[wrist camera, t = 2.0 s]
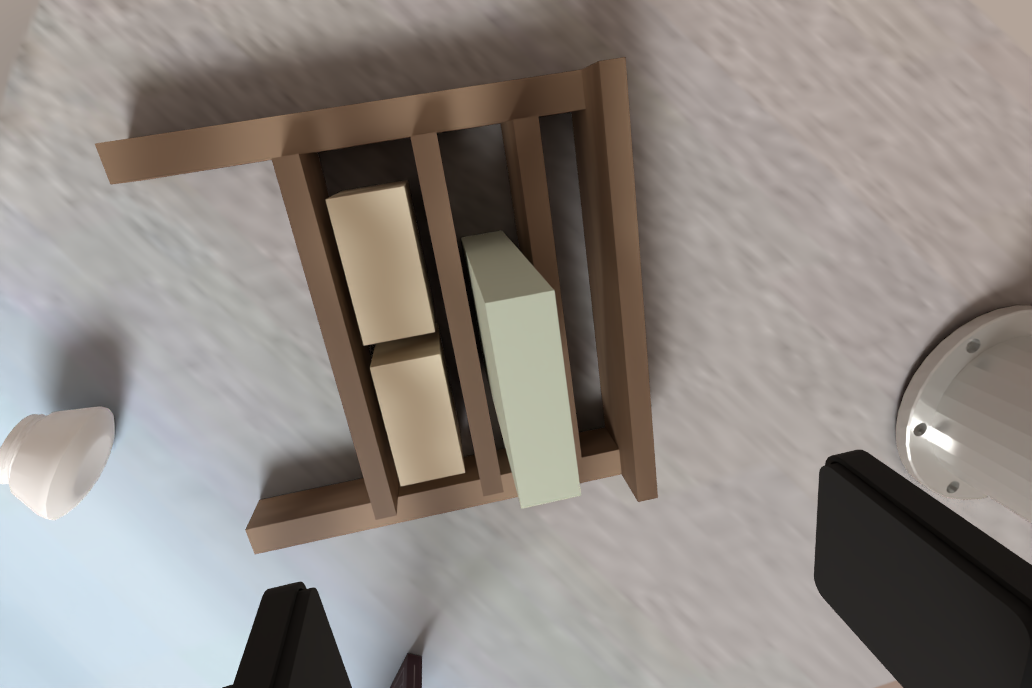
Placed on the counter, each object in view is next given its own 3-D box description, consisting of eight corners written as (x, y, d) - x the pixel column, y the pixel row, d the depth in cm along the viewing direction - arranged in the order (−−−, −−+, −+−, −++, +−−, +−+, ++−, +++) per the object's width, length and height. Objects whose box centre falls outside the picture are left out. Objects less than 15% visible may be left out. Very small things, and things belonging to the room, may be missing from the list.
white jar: (110, 480, 28) (48, 546, 24) (44, 464, 28) (-33, 529, 23) (131, 394, 27) (70, 446, 23) (63, 375, 26) (-15, 425, 22)
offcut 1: (407, 179, 26) (404, 186, 22) (433, 304, 28) (435, 331, 24) (342, 190, 26) (325, 199, 21) (373, 315, 28) (363, 345, 24)
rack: (588, 72, 25) (625, 57, 21) (624, 446, 32) (657, 497, 28) (127, 143, 24) (54, 143, 19) (267, 523, 31) (239, 591, 26)
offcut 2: (438, 323, 28) (439, 354, 24) (459, 427, 30) (465, 472, 26) (378, 334, 28) (370, 367, 24) (404, 438, 30) (400, 486, 26)
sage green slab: (501, 230, 27) (554, 290, 16) (522, 363, 30) (581, 495, 18) (460, 237, 27) (484, 303, 16) (485, 370, 30) (521, 508, 18)
